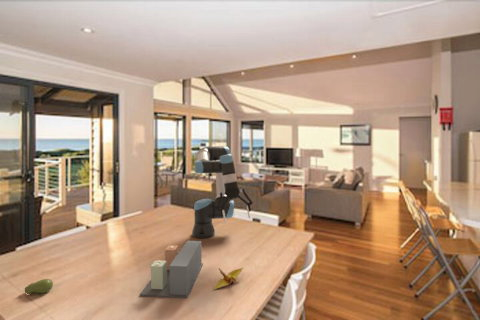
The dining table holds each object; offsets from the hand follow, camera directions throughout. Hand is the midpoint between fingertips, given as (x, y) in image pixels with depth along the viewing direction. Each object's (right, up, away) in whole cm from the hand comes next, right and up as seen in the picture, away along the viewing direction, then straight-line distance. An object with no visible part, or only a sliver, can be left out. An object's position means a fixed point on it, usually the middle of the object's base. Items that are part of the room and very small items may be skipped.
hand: (237, 219), depth 143 cm
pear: (-82, -22, -35) cm, 92 cm away
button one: (-32, -19, -17) cm, 41 cm away
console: (-28, -21, -25) cm, 43 cm away
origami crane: (-4, -22, -28) cm, 36 cm away
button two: (-33, -21, -33) cm, 51 cm away
